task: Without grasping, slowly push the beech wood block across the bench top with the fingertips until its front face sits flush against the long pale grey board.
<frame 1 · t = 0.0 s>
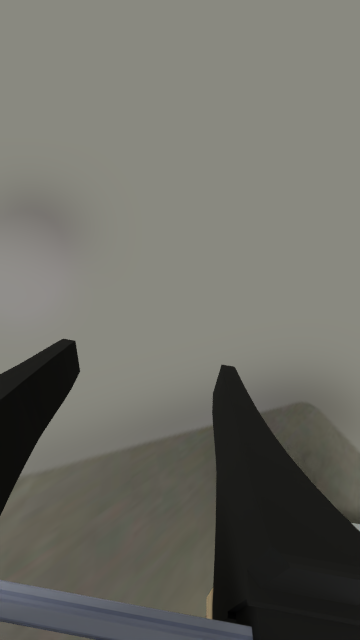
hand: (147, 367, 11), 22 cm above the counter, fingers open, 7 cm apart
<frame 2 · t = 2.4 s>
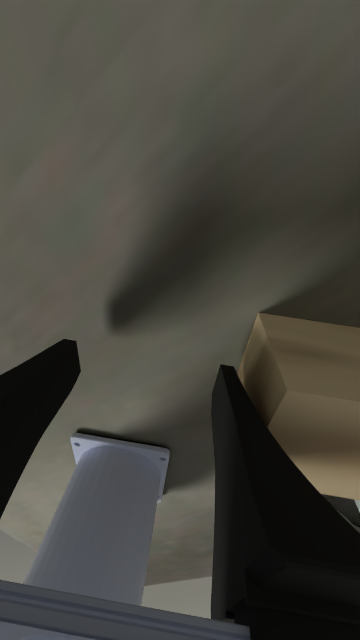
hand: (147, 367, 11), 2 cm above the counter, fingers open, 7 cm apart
block: (295, 365, 13), on the counter, touching gripper
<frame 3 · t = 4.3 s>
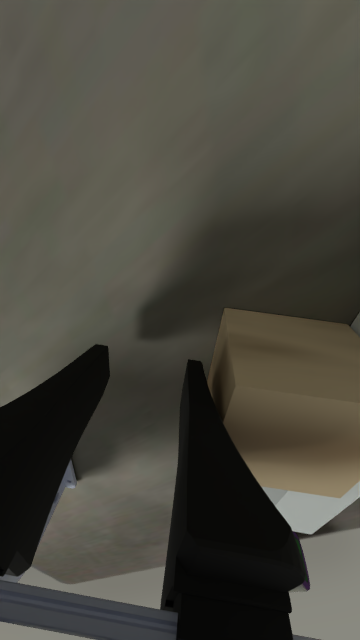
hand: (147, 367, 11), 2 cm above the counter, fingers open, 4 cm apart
block: (266, 361, 13), on the counter, touching board, gripper
board: (338, 402, 14), on the counter
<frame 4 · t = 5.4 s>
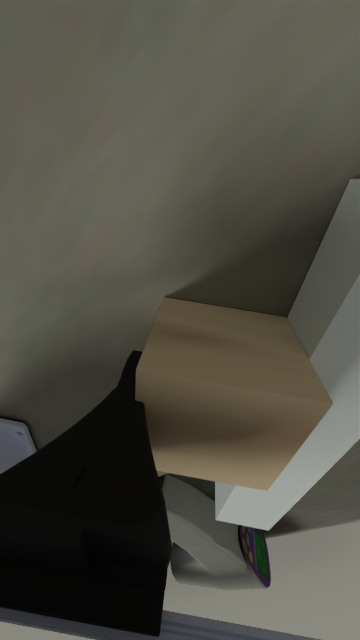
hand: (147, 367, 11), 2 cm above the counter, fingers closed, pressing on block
infrared thermometer: (184, 509, 26), on the counter
block: (212, 353, 13), on the counter, touching board, gripper
board: (286, 396, 14), on the counter
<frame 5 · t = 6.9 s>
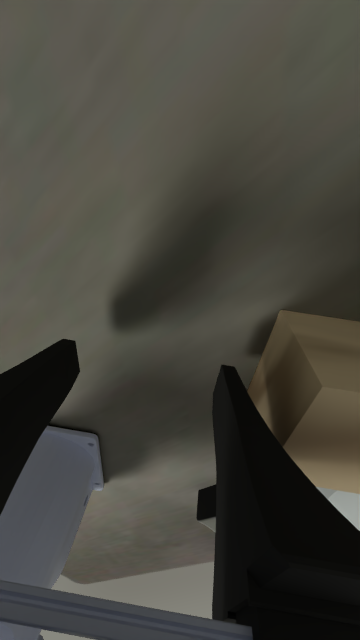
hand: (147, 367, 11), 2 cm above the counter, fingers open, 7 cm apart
infrared thermometer: (232, 514, 26), on the counter
block: (314, 362, 13), on the counter
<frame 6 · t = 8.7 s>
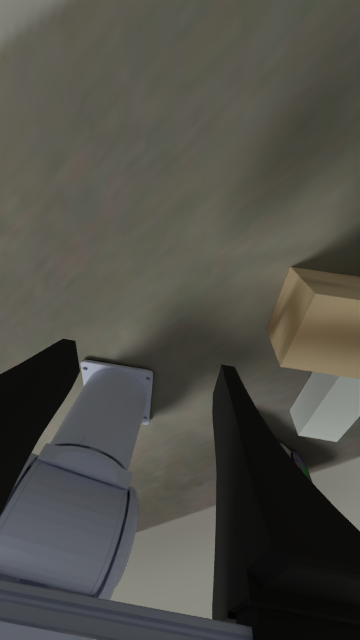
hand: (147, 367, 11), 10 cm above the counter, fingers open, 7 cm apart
block: (312, 305, 19), on the counter
board: (358, 337, 20), on the counter
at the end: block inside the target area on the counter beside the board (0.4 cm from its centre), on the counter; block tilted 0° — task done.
